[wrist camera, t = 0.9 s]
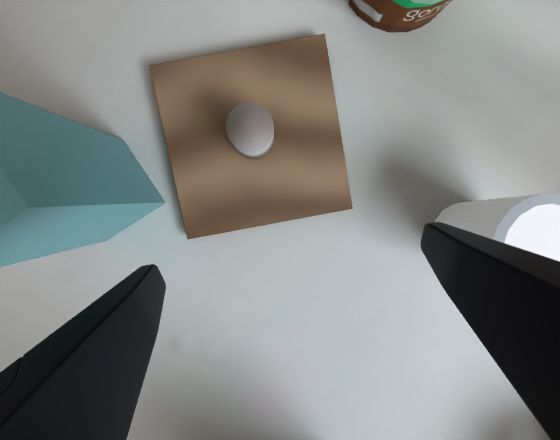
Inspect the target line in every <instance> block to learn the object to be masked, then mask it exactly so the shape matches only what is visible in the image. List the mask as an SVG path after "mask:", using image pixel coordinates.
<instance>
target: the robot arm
mask: <svg viewBox="0 0 560 440" xmlns="http://www.w3.org/2000/svg"><path fill="white" fill-rule="evenodd" d="M421 249H422V251H423V253H424V255H425V257H426V259H427V260H428V262H429V264H430V266H431V267H432V269H433V271H434V273H435V275H436V276H437V278H438V280H439V282H440V283H441V285H442V287H443V288H444V290H445V291H446V293H447V294H448V296H449V297H450V299H451V300H452V301H453V303H454V304H455V306H456V307H457V308H458V310H459V311H460V313H461V314H462V315H463V317H464V318H465V320H466V321H467V322H468V324H469V325H470V327H471V328H472V329H473V331H474V332H475V334H476V335H477V337H478V338H479V339H480V341H481V342H482V344H483V345H484V346H485V348H486V349H487V351H488V352H489V353H490V355H491V356H492V358H493V359H494V360H495V362H496V363H497V365H498V366H499V367H500V369H501V370H502V372H503V373H504V374H505V376H506V377H507V379H508V380H509V382H510V383H511V384H512V386H513V387H514V389H515V390H516V391H517V393H518V394H519V396H520V397H521V398H522V400H523V401H524V403H525V404H526V405H527V407H528V408H529V410H530V411H531V412H532V414H533V415H534V417H535V418H536V419H537V421H538V422H539V424H540V425H541V427H542V428H543V429H544V431H545V432H546V434H547V435H548V436H549V438H550V439H551V440H560V261H557V260H554V259H551V258H548V257H545V256H542V255H539V254H536V253H533V252H530V251H527V250H524V249H521V248H518V247H515V246H511V245H508V244H505V243H502V242H499V241H496V240H493V239H490V238H487V237H484V236H481V235H478V234H475V233H472V232H469V231H466V230H463V229H460V228H457V227H454V226H451V225H448V224H445V223H442V222H433V223H427V224H426V225H425V226H424V230H423V234H422V239H421ZM165 290H166V284H165V281H164V279H163V277H162V275H161V273H160V271H159V269H158V267H157V266H156V265H154V264H151V265H145V266H141V267H140V268H138V269H137V270H136V271H134V272H133V273H132V274H130V275H129V276H128V277H126V278H125V279H124V280H122V281H121V282H120V283H118V284H117V285H116V286H114V287H113V288H112V289H110V290H109V291H108V292H106V293H105V294H104V295H102V296H101V297H100V298H99V299H97V300H96V301H95V302H93V303H92V304H91V305H89V306H88V307H87V308H85V309H84V310H83V311H81V312H80V313H79V314H77V315H76V316H75V317H73V318H72V319H71V320H69V321H68V322H67V323H65V324H64V325H63V326H61V327H60V328H59V329H57V330H56V331H55V332H53V333H52V334H51V335H49V336H48V337H47V338H45V339H44V340H43V341H41V342H40V343H39V344H37V345H36V346H35V347H33V348H32V349H31V350H29V351H28V352H27V353H25V354H24V356H23V357H20V358H19V359H17V360H16V361H15V362H13V363H12V364H11V365H9V366H8V367H7V368H5V369H4V370H3V371H1V372H0V440H126V439H127V435H128V432H129V429H130V425H131V422H132V418H133V415H134V412H135V408H136V405H137V401H138V398H139V395H140V391H141V388H142V384H143V381H144V378H145V374H146V371H147V367H148V364H149V361H150V357H151V354H152V350H153V347H154V344H155V340H156V337H157V333H158V328H159V323H160V318H161V312H162V307H163V301H164V295H165Z"/></svg>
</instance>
